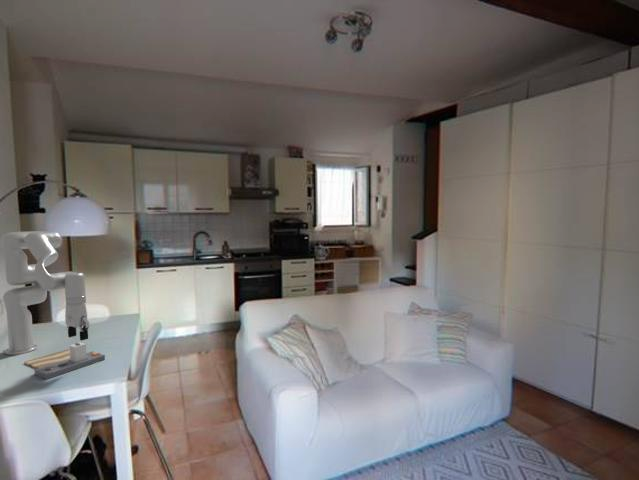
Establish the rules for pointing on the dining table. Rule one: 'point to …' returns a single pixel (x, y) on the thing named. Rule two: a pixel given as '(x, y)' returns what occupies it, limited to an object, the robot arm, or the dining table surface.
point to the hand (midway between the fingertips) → (78, 338)
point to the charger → (77, 352)
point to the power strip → (67, 365)
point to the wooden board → (49, 359)
